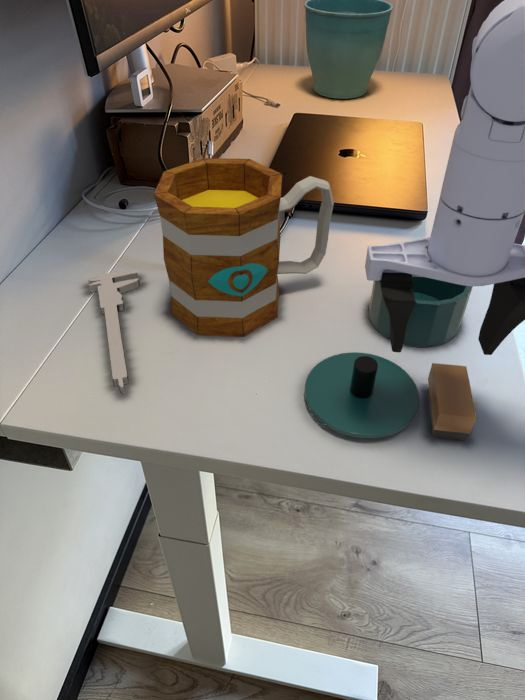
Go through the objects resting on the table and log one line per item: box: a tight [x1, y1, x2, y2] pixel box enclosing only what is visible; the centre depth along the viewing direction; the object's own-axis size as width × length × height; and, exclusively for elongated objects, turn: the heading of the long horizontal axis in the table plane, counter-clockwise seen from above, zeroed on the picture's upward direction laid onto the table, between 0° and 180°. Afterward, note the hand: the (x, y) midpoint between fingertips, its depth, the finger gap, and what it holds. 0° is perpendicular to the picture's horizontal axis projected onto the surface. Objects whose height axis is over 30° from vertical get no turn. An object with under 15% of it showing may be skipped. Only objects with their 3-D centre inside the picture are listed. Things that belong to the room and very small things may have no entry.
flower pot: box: [304, 0, 394, 100], centre depth 117 cm, size 18×18×17 cm
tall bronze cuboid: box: [427, 362, 477, 441], centre depth 51 cm, size 3×6×4 cm, turn 172°
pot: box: [368, 277, 474, 348], centre depth 61 cm, size 10×10×6 cm
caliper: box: [87, 270, 141, 395], centre depth 61 cm, size 20×1×6 cm
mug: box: [153, 157, 335, 338], centre depth 61 cm, size 20×14×15 cm
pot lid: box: [304, 352, 420, 439], centre depth 52 cm, size 11×11×5 cm
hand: (439, 345), depth 47 cm, fingers open, 7 cm apart
